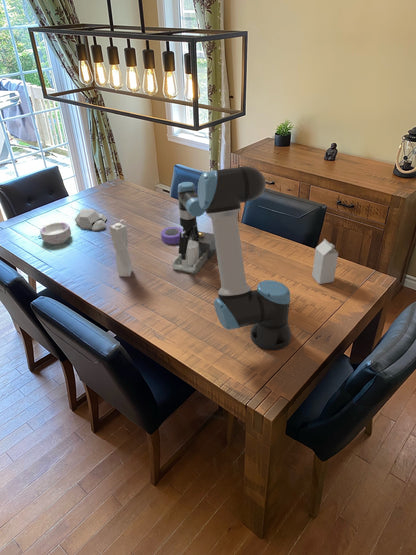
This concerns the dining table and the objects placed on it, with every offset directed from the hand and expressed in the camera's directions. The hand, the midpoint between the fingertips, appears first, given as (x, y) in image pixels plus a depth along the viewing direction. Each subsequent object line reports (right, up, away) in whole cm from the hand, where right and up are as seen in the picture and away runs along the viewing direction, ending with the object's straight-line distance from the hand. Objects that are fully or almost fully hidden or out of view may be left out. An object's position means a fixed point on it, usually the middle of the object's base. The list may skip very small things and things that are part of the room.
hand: (190, 259), depth 200 cm
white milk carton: (+61, -10, -11) cm, 62 cm away
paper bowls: (-73, +11, +27) cm, 78 cm away
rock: (-58, +20, +41) cm, 74 cm away
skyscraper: (-30, -7, -2) cm, 31 cm away
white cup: (+1, -2, +2) cm, 3 cm away
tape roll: (-10, +11, +24) cm, 29 cm away
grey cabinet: (+2, 0, +6) cm, 7 cm away
